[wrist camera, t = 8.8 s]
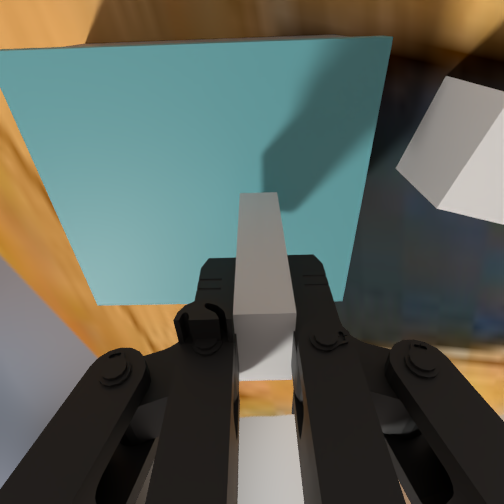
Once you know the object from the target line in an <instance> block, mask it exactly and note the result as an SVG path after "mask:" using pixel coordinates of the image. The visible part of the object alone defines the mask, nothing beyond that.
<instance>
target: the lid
mask: <svg viewBox="0 0 504 504" xmlns="http://www.w3.org/2000/svg"><path fill="white" fill-rule="evenodd" d="M392 40H393V37H390V36H359V37H331V38H303V39H275V40H247V41H219V42H192V43H164V44H136V45H108V46H80V47H52V48H24V49H1V50H0V88H1V90H2V92H3V94H4V97H5V99H6V101H7V103H8V106H9V108H10V110H11V112H12V115H13V117H14V119H15V121H16V124H17V126H18V128H19V130H20V133H21V135H22V137H23V139H24V141H25V144H26V146H27V148H28V150H29V153H30V155H31V157H32V159H33V162H34V164H35V166H36V168H37V171H38V173H39V175H40V177H41V180H42V182H43V184H44V186H45V189H46V191H47V193H48V195H49V197H50V200H51V202H52V204H53V206H54V209H55V211H56V213H57V215H58V218H59V220H60V222H61V224H62V227H63V229H64V231H65V233H66V236H67V238H68V240H69V242H70V244H71V247H72V249H73V251H74V253H75V256H76V258H77V260H78V262H79V265H80V267H81V269H82V271H83V274H84V276H85V278H86V280H87V283H88V285H89V287H90V289H91V291H92V294H93V296H94V298H95V300H96V303H97V305H152V304H189V303H192V302H194V301H195V296H196V291H197V286H198V281H199V275H200V270H201V267H202V266H203V265H204V264H205V262H206V261H207V260H208V259H209V258H234V257H236V251H237V234H238V216H239V199H240V193H265V192H277V195H278V201H279V207H280V214H281V220H282V226H283V232H284V238H285V245H286V251H287V255H307V254H314V255H315V256H316V257H317V258H318V259H319V260H320V261H321V263H322V264H323V267H324V270H325V273H326V277H327V280H328V283H329V286H330V290H331V293H332V296H333V300H334V301H343V295H344V290H345V285H346V280H347V275H348V269H349V264H350V259H351V254H352V249H353V243H354V238H355V233H356V228H357V223H358V217H359V212H360V207H361V202H362V197H363V191H364V186H365V181H366V176H367V170H368V165H369V160H370V155H371V150H372V144H373V139H374V134H375V129H376V124H377V118H378V113H379V108H380V103H381V98H382V92H383V87H384V82H385V77H386V72H387V66H388V61H389V56H390V51H391V46H392Z"/></svg>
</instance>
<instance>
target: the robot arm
mask: <svg viewBox="0 0 504 504" xmlns="http://www.w3.org/2000/svg"><path fill="white" fill-rule="evenodd" d="M173 321H174V325H175V328H176V332H177V336H178V340H179V342H178V343H176V344H175V345H173V346H172V347H170V348H167V349H165V350H162V351H159V352H156V353H152V354H149V355H146V356H143V355H142V354H141V353H140V351H137V350H135V349H133V348H118V349H115V350H112V351H109V352H107V353H106V354H104V355H102V356H101V357H99V358H98V359H97V360H96V361H95V362H94V363H93V364H92V365H91V366H90V367H89V369H88V370H87V371H86V373H85V374H84V376H83V377H82V378H81V380H80V381H79V382H78V384H77V385H76V387H75V388H74V389H73V391H72V392H71V393H70V395H69V396H68V398H67V399H66V400H65V402H64V403H63V404H62V406H61V407H60V408H59V410H58V411H57V413H56V414H55V415H54V417H53V418H52V419H51V421H50V422H49V423H48V425H47V426H46V427H45V429H44V430H43V432H42V433H41V434H40V436H39V437H38V439H37V440H36V441H35V443H34V444H33V445H32V447H31V448H30V449H29V451H28V452H27V453H26V455H25V456H24V458H23V459H22V460H21V462H20V463H19V464H18V466H17V467H16V468H15V470H14V471H13V473H12V474H11V475H10V477H9V478H8V479H7V481H6V482H5V484H4V485H3V486H2V488H1V489H0V504H135V503H136V500H137V498H138V495H139V493H140V491H141V489H142V487H143V484H144V482H145V479H146V477H147V475H148V473H149V470H150V468H151V466H152V463H153V461H154V465H153V470H152V474H151V479H150V483H149V488H148V493H147V497H146V502H145V504H237V497H238V453H239V452H238V451H239V410H240V399H239V381H253V380H292V378H293V386H294V392H293V404H292V414H295V423H296V432H297V441H298V450H299V459H300V467H301V477H302V486H303V495H304V504H406V503H405V500H404V496H403V493H402V490H401V487H400V484H401V485H402V487H403V489H404V491H405V493H406V495H407V497H408V499H409V500H410V502H411V504H504V422H503V420H502V419H501V418H500V417H499V416H498V415H497V413H496V412H495V411H494V410H493V409H492V408H491V407H490V405H489V404H488V403H487V402H486V401H485V400H484V399H483V398H482V396H481V395H480V394H479V393H478V392H477V391H476V390H475V388H474V387H473V386H472V385H471V384H470V383H469V382H468V380H467V379H466V378H465V377H464V376H463V375H462V374H461V373H460V371H459V370H458V369H457V368H456V367H455V366H454V365H453V363H452V362H451V361H450V360H449V359H448V358H447V357H446V356H445V355H444V354H443V353H442V352H441V351H439V350H438V349H437V348H435V347H433V346H431V345H429V344H427V343H426V342H421V341H417V340H402V341H400V342H398V343H396V344H394V346H393V347H392V349H387V348H383V347H379V346H375V345H370V344H367V343H364V342H361V341H360V340H358V339H356V338H354V337H353V336H351V335H350V333H349V332H348V330H346V329H345V328H344V327H343V326H342V324H341V322H340V320H339V316H338V313H337V310H336V306H335V303H334V300H333V296H332V293H331V290H330V286H329V283H328V280H327V277H326V273H325V270H324V267H323V264H322V263H321V261H320V260H319V259H318V258H317V257H316V256H315V255H314V254H307V255H287V251H286V245H285V238H284V232H283V226H282V220H281V214H280V207H279V201H278V195H277V192H265V193H240V199H239V216H238V234H237V251H236V257H234V258H209V259H208V260H207V261H206V262H205V264H204V265H203V266H202V267H201V270H200V275H199V281H198V286H197V291H196V296H195V301H194V302H192V303H189V304H187V305H185V306H184V307H183V308H182V309H181V310H180V311H179V312H178V313H177V315H176V317H175V319H174V320H173ZM154 459H155V460H154ZM398 480H399V481H398ZM399 482H400V484H399Z"/></svg>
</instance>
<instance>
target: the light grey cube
mask: <svg viewBox="0 0 504 504" xmlns="http://www.w3.org/2000/svg"><path fill="white" fill-rule="evenodd" d="M396 169H397V170H398V171H399V172H400V173H401V174H402V175H403V176H404V177H405V178H406V179H407V180H408V181H409V182H410V183H411V184H412V185H413V186H414V187H415V188H416V189H417V190H418V191H419V192H420V193H421V194H422V195H423V196H424V197H426V198H427V199H428V200H429V201H430V202H431V203H432V204H433V205H434V206H435V207H436V208H437V209H441V210H446V211H450V212H454V213H458V214H462V215H466V216H470V217H474V218H478V219H483V220H487V221H491V222H495V223H499V224H503V225H504V91H500V90H496V89H493V88H489V87H485V86H482V85H478V84H474V83H471V82H467V81H463V80H460V79H456V78H452V77H449V76H446V77H445V79H444V80H443V82H442V84H441V86H440V88H439V90H438V91H437V93H436V95H435V97H434V99H433V101H432V103H431V104H430V106H429V108H428V110H427V112H426V114H425V115H424V117H423V119H422V121H421V123H420V125H419V127H418V128H417V130H416V132H415V134H414V136H413V138H412V139H411V141H410V143H409V145H408V147H407V149H406V151H405V152H404V154H403V156H402V158H401V160H400V162H399V163H398V165H397V167H396Z"/></svg>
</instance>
